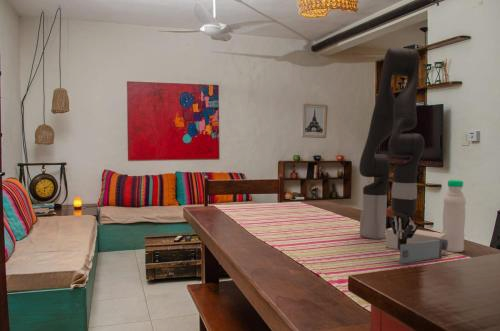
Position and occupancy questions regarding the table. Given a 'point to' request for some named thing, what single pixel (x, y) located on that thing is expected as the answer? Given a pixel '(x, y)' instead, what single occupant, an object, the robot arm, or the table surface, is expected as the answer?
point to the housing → (416, 238)
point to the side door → (420, 251)
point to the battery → (388, 215)
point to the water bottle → (454, 216)
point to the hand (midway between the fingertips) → (401, 249)
